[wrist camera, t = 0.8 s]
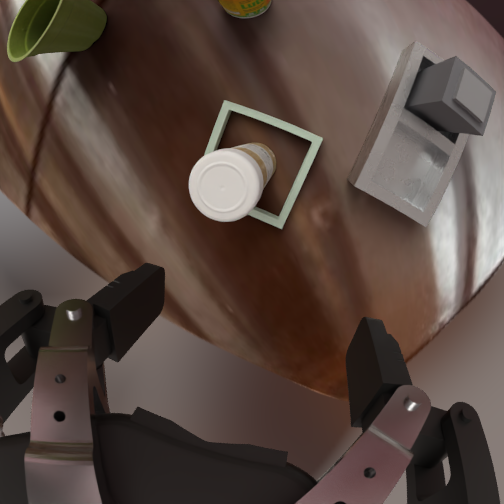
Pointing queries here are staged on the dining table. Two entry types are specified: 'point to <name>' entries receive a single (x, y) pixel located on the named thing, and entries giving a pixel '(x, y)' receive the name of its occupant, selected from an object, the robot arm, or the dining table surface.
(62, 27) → the plant pot
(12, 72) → the dining table surface
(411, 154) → the divided grey caddy
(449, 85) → the grey stepped square plug
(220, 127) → the tray frame
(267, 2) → the supplement bottle
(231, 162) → the sprinkles bottle
